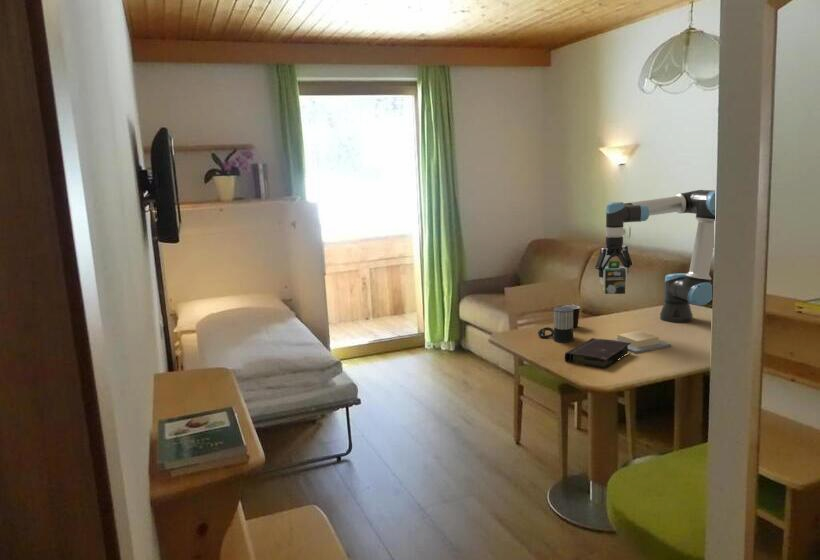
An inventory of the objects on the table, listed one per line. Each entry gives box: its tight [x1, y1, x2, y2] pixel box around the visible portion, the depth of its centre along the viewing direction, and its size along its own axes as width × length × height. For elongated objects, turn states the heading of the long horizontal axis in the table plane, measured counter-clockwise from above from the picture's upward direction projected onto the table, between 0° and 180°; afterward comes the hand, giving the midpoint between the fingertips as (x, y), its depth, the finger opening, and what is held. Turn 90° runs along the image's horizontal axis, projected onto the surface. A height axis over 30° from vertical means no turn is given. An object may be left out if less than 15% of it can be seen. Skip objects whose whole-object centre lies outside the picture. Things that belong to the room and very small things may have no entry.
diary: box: [564, 337, 631, 370], centre depth 252 cm, size 19×25×5 cm
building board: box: [612, 330, 672, 354], centre depth 267 cm, size 20×18×4 cm
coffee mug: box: [561, 304, 581, 329], centre depth 300 cm, size 12×9×10 cm
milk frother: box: [537, 306, 574, 344], centre depth 280 cm, size 14×16×15 cm
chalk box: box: [601, 260, 626, 295], centre depth 280 cm, size 9×9×15 cm
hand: (613, 282), depth 281 cm, fingers closed on chalk box, 12 cm apart
